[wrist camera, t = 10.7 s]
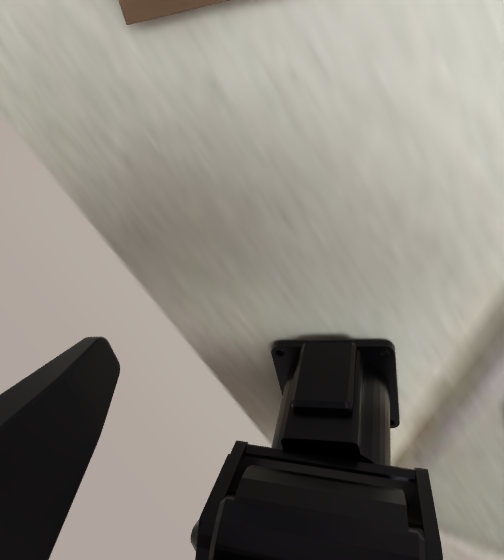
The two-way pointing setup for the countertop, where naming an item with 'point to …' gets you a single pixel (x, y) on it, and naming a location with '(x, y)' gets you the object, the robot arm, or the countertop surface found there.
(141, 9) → the roll holder
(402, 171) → the countertop surface
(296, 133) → the countertop surface
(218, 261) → the countertop surface
